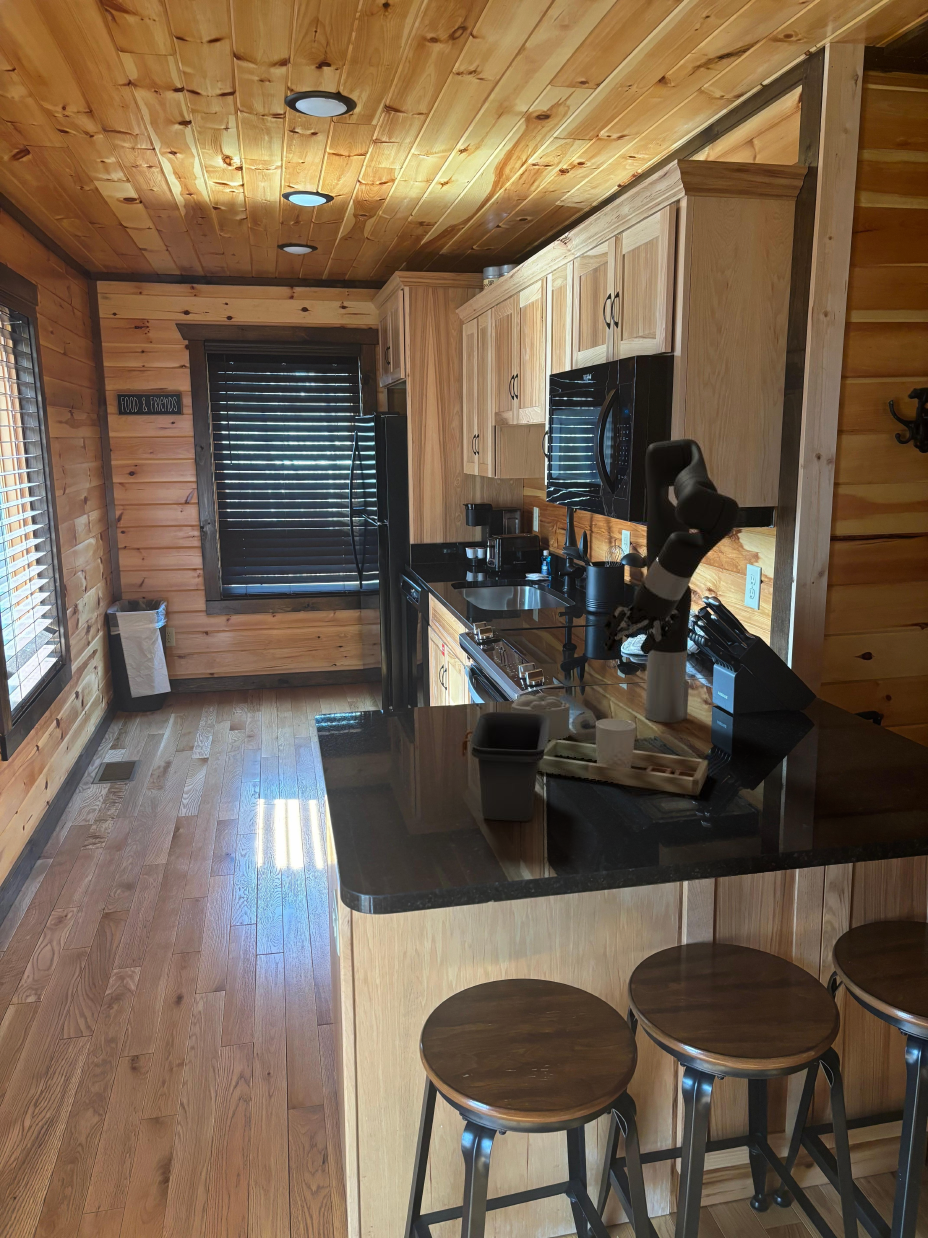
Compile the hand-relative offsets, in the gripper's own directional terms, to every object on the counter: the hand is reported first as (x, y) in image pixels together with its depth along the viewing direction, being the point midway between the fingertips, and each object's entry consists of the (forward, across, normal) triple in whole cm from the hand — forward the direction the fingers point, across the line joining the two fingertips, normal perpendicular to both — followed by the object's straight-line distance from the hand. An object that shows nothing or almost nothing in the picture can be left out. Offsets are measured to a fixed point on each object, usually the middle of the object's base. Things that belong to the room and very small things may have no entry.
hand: (625, 651), depth 172 cm
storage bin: (+24, +24, +17) cm, 38 cm away
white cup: (+24, -4, +10) cm, 26 cm away
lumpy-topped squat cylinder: (+38, -4, -13) cm, 41 cm away
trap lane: (+23, -5, +11) cm, 26 cm away
